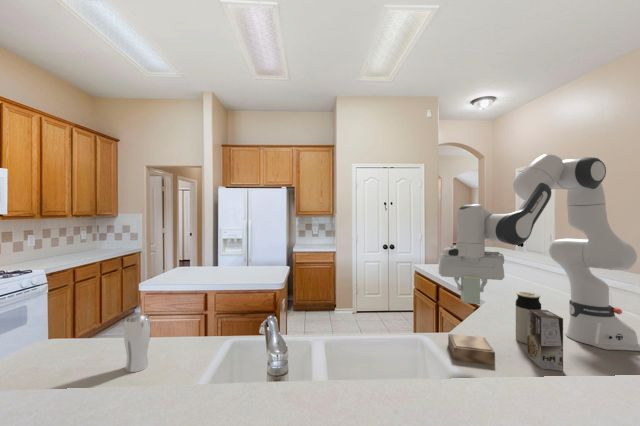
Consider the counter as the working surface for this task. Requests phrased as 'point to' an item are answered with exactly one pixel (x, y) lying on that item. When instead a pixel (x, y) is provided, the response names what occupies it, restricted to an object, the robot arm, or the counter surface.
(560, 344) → the coffee box
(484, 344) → the square wooden tray
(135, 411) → the counter surface
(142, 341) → the beer glass
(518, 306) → the travel mug
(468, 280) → the tea tin
